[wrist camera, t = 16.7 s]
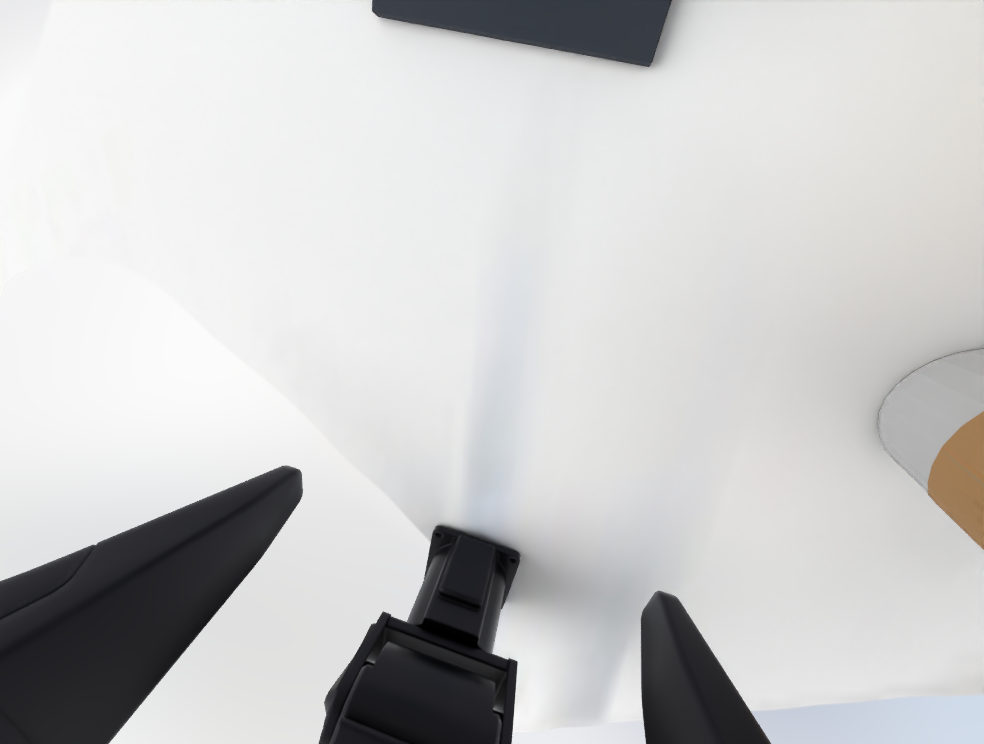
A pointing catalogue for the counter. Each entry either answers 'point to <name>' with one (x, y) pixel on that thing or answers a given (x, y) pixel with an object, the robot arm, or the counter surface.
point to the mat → (547, 23)
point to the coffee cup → (942, 434)
